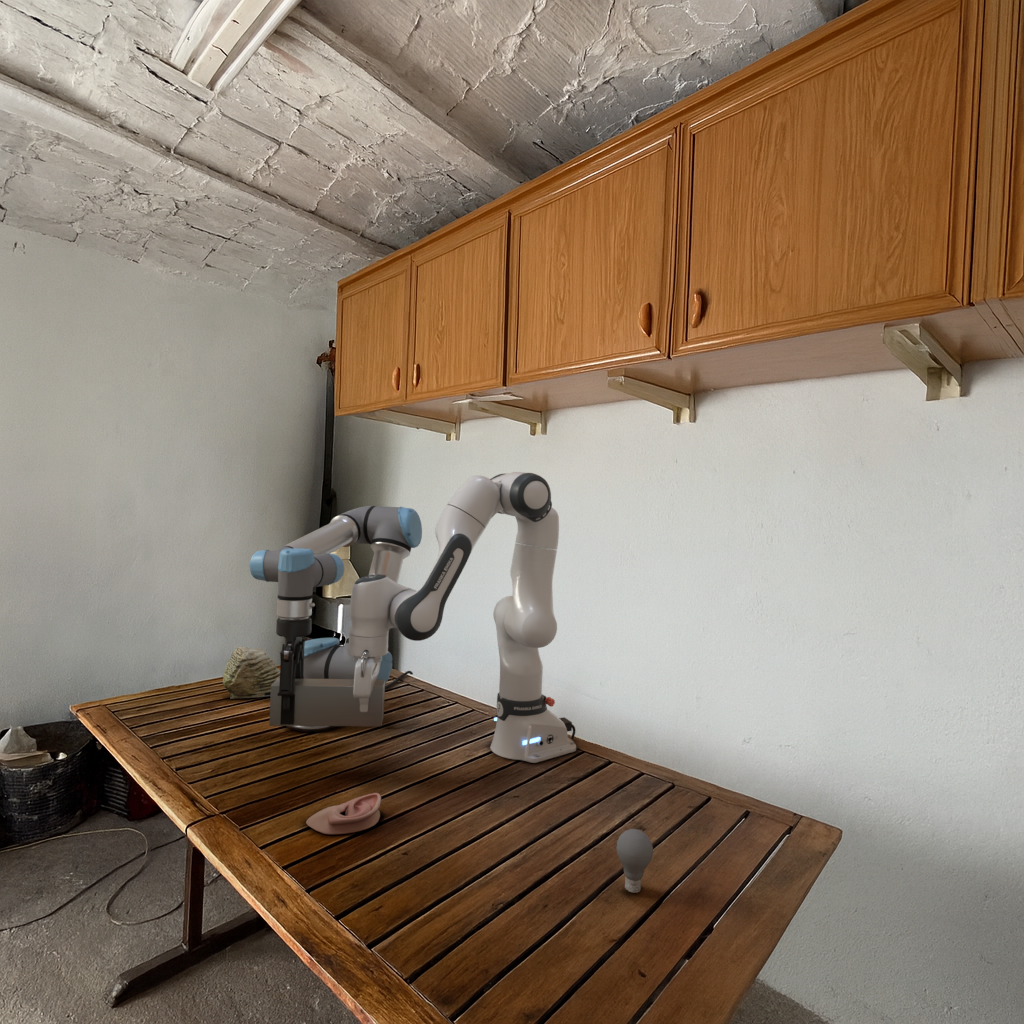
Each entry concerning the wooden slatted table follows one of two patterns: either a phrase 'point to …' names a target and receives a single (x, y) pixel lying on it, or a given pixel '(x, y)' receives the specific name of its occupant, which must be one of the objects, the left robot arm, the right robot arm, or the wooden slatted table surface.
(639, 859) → the light bulb
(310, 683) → the bar
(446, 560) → the right robot arm
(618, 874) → the wooden slatted table surface
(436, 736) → the wooden slatted table surface
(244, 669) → the fossil
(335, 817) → the anatomical model
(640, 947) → the wooden slatted table surface
